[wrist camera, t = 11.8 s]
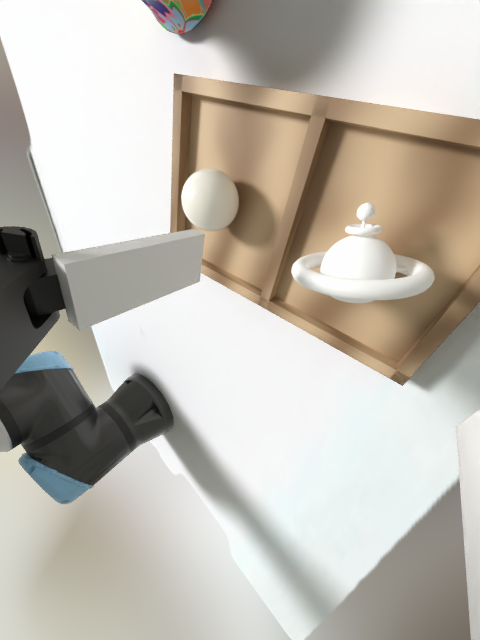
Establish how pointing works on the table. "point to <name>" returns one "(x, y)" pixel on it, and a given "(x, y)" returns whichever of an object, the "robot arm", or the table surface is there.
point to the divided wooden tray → (335, 207)
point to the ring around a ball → (362, 267)
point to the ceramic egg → (210, 199)
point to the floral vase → (178, 13)
